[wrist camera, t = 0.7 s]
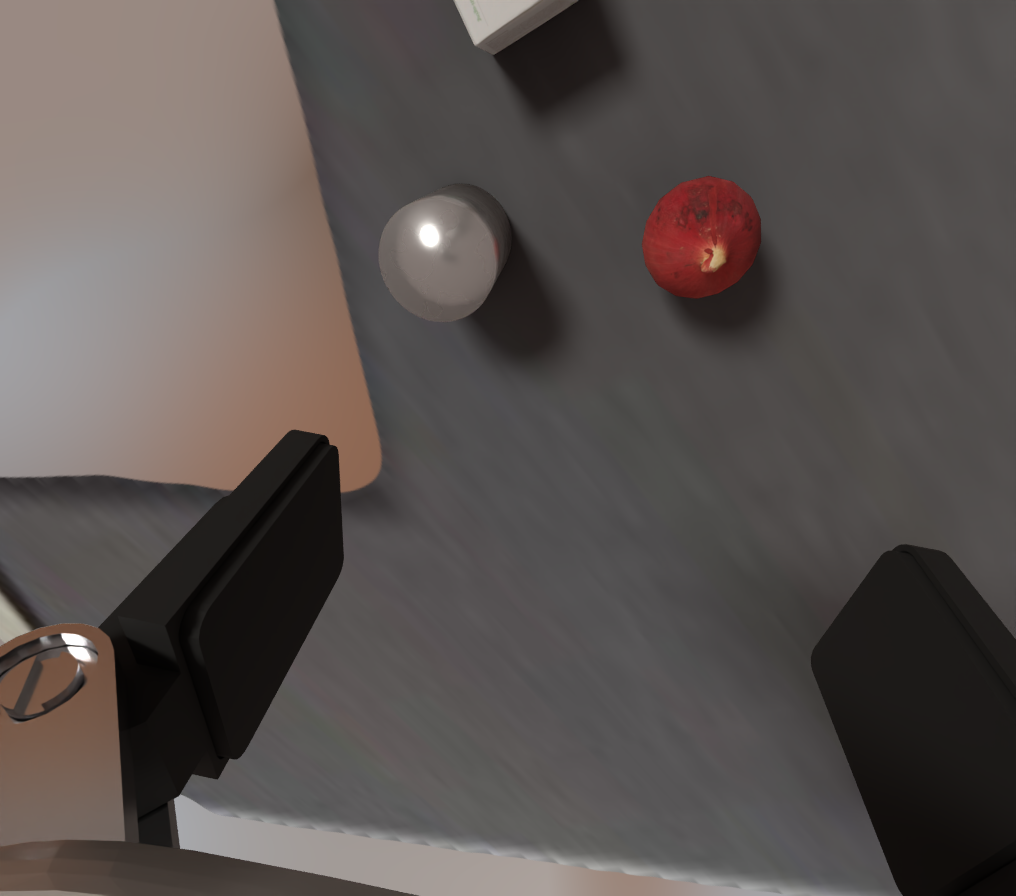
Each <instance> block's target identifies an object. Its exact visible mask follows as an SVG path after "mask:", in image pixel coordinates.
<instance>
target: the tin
mask: <svg viewBox="0 0 1016 896" xmlns="http://www.w3.org/2000/svg"><path fill="white" fill-rule="evenodd" d="M511 245H512V232H511V226H510V223H509V219H508V217H507V215H506V213H505V211H504V209H503V207H502V206H501V205H500V203H499V202H498V201H497V200H496V199H495V198H494V197H493V196H492V195H491V194H489V193H488V192H487V191H485V190H483V189H481V188H479V187H477V186H474V185H470V184H452V185H448V186H445V187H443V188H441V189H439V190H437V191H434V192H432V193H430V194H428V195H426V196H424V197H422V198H420V199H418V200H416V201H414V202H412V203H410V204H408V205H406V206H404V207H403V208H401V209H400V210H399V211H397V212H396V213H395V214H394V215H393V216H392V218H391V219H390V220H389V222H388V223H387V225H386V227H385V228H384V231H383V233H382V236H381V240H380V244H379V264H380V270H381V273H382V277H383V279H384V282H385V284H386V286H387V288H388V289H389V291H390V293H391V294H392V295H393V297H394V298H395V299H396V300H397V301H398V302H399V303H400V304H401V305H402V306H403V307H404V308H405V309H407V310H408V311H409V312H411V313H413V314H414V315H416V316H418V317H421V318H423V319H426V320H430V321H436V322H449V321H455V320H459V319H461V318H464V317H466V316H468V315H470V314H471V313H473V312H474V311H475V310H476V309H478V308H479V307H480V306H481V305H482V303H483V302H484V301H485V299H486V298H487V296H488V294H489V293H490V291H491V289H492V287H493V285H494V284H495V282H496V280H497V278H498V276H499V275H500V273H501V271H502V269H503V267H504V266H505V264H506V262H507V260H508V257H509V254H510V251H511Z"/></svg>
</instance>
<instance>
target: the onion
mask: <svg viewBox="0 0 1016 896" xmlns="http://www.w3.org/2000/svg"><path fill="white" fill-rule="evenodd" d="M760 244H761V219H760V216H759V214H758V211H757V209H756V206H755V204H754V201H753V199H752V198H751V196H750V195H748V194H747V193H746V192H745V191H744V190H742V189H741V188H740V187H739V186H738V185H736V184H735V183H734V182H732V181H728V180H724V179H719V178H715V177H711V176H707V177H703V178H699V179H695V180H691V181H687V182H683V183H680V184H679V185H678V186H676V187H675V188H674V189H672V190H671V191H670V192H669V193H667V194H666V195H665V196H663V197H662V198H661V199H660V200H659V201H658V203H657V205H656V207H655V208H654V210H653V212H652V213H651V215H650V217H649V218H648V220H647V222H646V227H645V232H644V237H643V241H642V247H643V253H644V259H645V265H646V267H647V269H648V270H649V272H650V274H651V275H652V277H653V279H654V280H655V282H656V283H657V284H658V286H660V287H662V288H663V289H665V290H667V291H669V292H670V293H672V294H674V295H675V296H681V297H688V298H696V299H697V298H701V297H705V296H709V295H714V294H718V293H720V292H721V291H723V290H725V289H726V288H728V287H730V286H731V285H733V284H735V283H736V282H738V281H739V280H740V278H741V277H742V276H743V275H744V274H745V273H746V271H747V270H748V269H749V268H750V267H751V266H752V264H753V262H754V260H755V257H756V254H757V252H758V249H759V246H760Z"/></svg>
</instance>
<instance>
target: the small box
mask: <svg viewBox="0 0 1016 896" xmlns="http://www.w3.org/2000/svg"><path fill="white" fill-rule="evenodd" d="M577 1H578V0H454V2H455V4H456V7H457V9H458V11H459V13H460V15H461V17H462V20H463V22H464V24H465V26H466V28H467V30H468V32H469V35H470V37H471V39H472V41H473V43H474V45H475V46H477V47H479V48H481V49H483V50H485V51H487V52H488V53H490V54H492V55H494V54H496V53H498V52H499V51H501V50H503V49H504V48H506V47H507V46H509V45H511V44H512V43H514V42H515V41H517V40H518V39H520V38H522V37H523V36H525V35H526V34H528V33H529V32H531V31H532V30H534V29H536V28H537V27H539V26H540V25H542V24H543V23H545V22H547V21H548V20H550V19H551V18H553V17H554V16H556V15H557V14H559V13H560V12H562V11H564V10H565V9H567V8H568V7H570V6H571V5H572V4H574V3H575V2H577Z"/></svg>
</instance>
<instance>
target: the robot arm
mask: <svg viewBox="0 0 1016 896" xmlns="http://www.w3.org/2000/svg"><path fill="white" fill-rule="evenodd" d="M343 560H344V552H343V532H342V513H341V493H340V474H339V454H338V449H337V447H336V446H333V445H330V444H329V440H328V438H327V437H326V436H325V435H320V434H315V433H310V432H304V431H299V430H291V431H289V432H288V433H287V434H286V435H285V436H284V437H283V438H282V439H281V440H280V441H279V443H278V444H277V445H276V446H275V447H274V448H273V449H272V450H271V451H270V452H269V453H268V455H267V456H266V457H265V458H264V459H263V460H262V461H261V462H260V463H259V464H258V465H257V466H256V467H255V468H254V470H253V471H252V472H251V473H250V474H249V475H248V476H247V477H246V478H245V479H244V480H243V481H242V482H241V484H240V485H239V486H238V487H237V488H236V489H235V490H234V491H233V492H232V493H231V494H230V495H229V496H226V497H223V498H222V499H220V500H219V501H218V502H217V503H216V504H215V505H214V506H213V507H212V508H211V509H210V510H209V511H208V512H207V513H206V514H205V515H204V516H203V517H202V518H201V519H200V520H199V522H198V523H197V524H196V525H195V526H194V527H193V528H192V529H191V530H190V531H189V532H188V533H187V534H186V535H185V536H184V537H183V538H182V540H181V541H180V542H179V543H178V544H177V545H176V546H175V547H174V548H173V549H172V550H171V551H170V552H169V553H168V554H167V555H166V556H165V557H164V559H163V560H162V561H161V562H160V563H159V564H158V565H157V566H156V567H155V568H154V569H153V570H152V571H151V572H150V573H149V574H148V575H147V577H146V578H145V579H144V580H143V581H142V582H141V583H140V584H139V585H138V586H137V587H136V588H135V589H134V590H133V591H132V592H131V593H130V595H129V596H128V597H127V598H126V599H125V600H124V601H123V602H122V603H121V604H120V605H119V606H118V607H117V608H116V609H115V610H114V611H113V613H112V614H111V615H110V616H109V617H108V618H107V619H106V620H105V621H104V622H103V623H102V624H101V625H100V626H99V627H98V628H96V627H93V626H90V625H86V624H83V623H62V624H57V625H52V626H47V627H42V628H39V629H36V630H33V631H31V632H28V633H26V634H23V635H20V636H18V637H15V638H14V639H12V640H10V641H8V642H7V643H5V644H3V645H1V646H0V896H417V895H413V894H408V893H403V892H398V891H394V890H389V889H385V888H380V887H375V886H371V885H366V884H361V883H356V882H351V881H347V880H342V879H338V878H333V877H328V876H323V875H318V874H313V873H307V872H302V871H297V870H292V869H286V868H281V867H276V866H271V865H266V864H261V863H256V862H250V861H245V860H240V859H235V858H230V857H224V856H219V855H214V854H208V853H204V852H198V851H193V850H185V849H180V845H179V837H178V829H177V821H176V813H175V805H174V798H176V797H178V796H179V795H180V793H181V792H182V790H183V788H184V787H185V785H186V783H187V782H188V780H189V778H190V777H191V775H192V774H194V775H199V776H203V777H208V778H213V779H218V778H219V776H220V775H221V773H222V771H223V769H224V767H225V766H226V764H227V762H228V760H229V758H230V759H238V758H239V757H241V756H242V754H243V753H244V752H245V750H246V748H247V747H248V745H249V743H250V741H251V739H252V738H253V736H254V734H255V732H256V730H257V728H258V726H259V725H260V723H261V721H262V719H263V717H264V715H265V713H266V712H267V710H268V708H269V706H270V704H271V702H272V700H273V698H274V697H275V695H276V693H277V691H278V689H279V687H280V685H281V684H282V682H283V680H284V678H285V676H286V674H287V672H288V670H289V669H290V667H291V665H292V663H293V661H294V659H295V657H296V656H297V654H298V652H299V650H300V648H301V646H302V644H303V643H304V641H305V639H306V637H307V635H308V633H309V631H310V629H311V628H312V626H313V624H314V622H315V620H316V618H317V616H318V615H319V613H320V611H321V609H322V607H323V605H324V603H325V602H326V600H327V598H328V596H329V594H330V592H331V590H332V588H333V587H334V585H335V583H336V581H337V579H338V577H339V575H340V572H341V569H342V566H343ZM811 667H812V670H813V673H814V676H815V678H816V681H817V684H818V686H819V689H820V691H821V694H822V696H823V699H824V701H825V704H826V707H827V709H828V712H829V714H830V717H831V719H832V722H833V724H834V727H835V730H836V732H837V735H838V737H839V740H840V742H841V745H842V747H843V750H844V753H845V755H846V758H847V760H848V763H849V765H850V768H851V770H852V773H853V776H854V778H855V781H856V783H857V786H858V788H859V791H860V793H861V796H862V799H863V801H864V804H865V806H866V809H867V811H868V814H869V816H870V819H871V822H872V824H873V827H874V829H875V832H876V834H877V837H878V840H879V842H880V845H881V847H882V850H883V852H884V855H885V857H886V860H887V863H888V865H889V868H890V870H891V873H892V875H893V878H894V880H895V883H896V885H897V887H898V889H899V891H900V892H901V894H902V895H903V896H1016V639H1015V638H1014V637H1013V636H1012V634H1011V633H1010V632H1009V631H1008V629H1007V628H1006V627H1005V626H1004V624H1003V623H1002V622H1001V620H1000V619H999V618H998V617H997V615H996V614H995V613H994V612H993V610H992V609H991V608H990V607H989V605H988V604H987V603H986V602H985V600H984V599H983V598H982V597H981V595H980V594H979V593H978V592H977V590H976V589H975V588H974V586H973V585H972V584H971V583H970V581H969V580H968V579H967V578H966V576H965V575H964V574H963V573H962V571H961V570H960V569H959V568H958V566H957V565H956V564H955V563H954V561H953V560H952V559H951V558H950V557H949V556H948V555H947V554H946V553H944V552H942V551H939V550H934V549H928V548H923V547H918V546H912V545H907V544H905V545H899V546H897V547H895V548H894V549H893V550H892V551H887V552H885V553H883V554H882V555H881V557H880V558H879V559H878V561H877V562H876V563H875V565H874V566H873V568H872V569H871V570H870V572H869V573H868V575H867V576H866V577H865V579H864V580H863V581H862V583H861V584H860V586H859V587H858V588H857V590H856V591H855V592H854V594H853V595H852V597H851V598H850V599H849V601H848V602H847V604H846V605H845V606H844V608H843V609H842V610H841V612H840V613H839V615H838V616H837V617H836V619H835V620H834V621H833V623H832V624H831V626H830V627H829V628H828V630H827V631H826V633H825V634H824V635H823V637H822V638H821V639H820V641H819V642H818V644H817V645H816V646H815V648H814V650H813V652H812V656H811Z"/></svg>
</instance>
